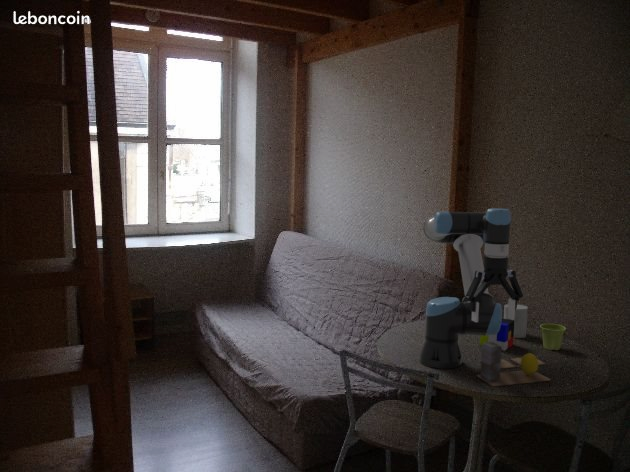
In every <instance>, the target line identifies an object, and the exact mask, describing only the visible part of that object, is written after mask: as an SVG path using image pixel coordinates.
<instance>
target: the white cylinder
mask: <svg viewBox="0 0 630 472" xmlns="http://www.w3.org/2000/svg"><path fill="white" fill-rule="evenodd" d="M503 307H504V308H503V309H504V310H503V319H509V318H507V317H508V303H506V304H504V305H503ZM528 309H529V307H528V306H527V305H525V304H519V303H517V308H516V309H515V316H514V320H515V321H514V338H513V339H516V338H517V339H522V338H526V337H527V324H528V323H527V322H528ZM509 320H512V319H509Z"/></svg>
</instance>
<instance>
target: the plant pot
mask: <svg viewBox="0 0 630 472" xmlns="http://www.w3.org/2000/svg"><path fill="white" fill-rule="evenodd" d="M539 328H540V330H541V333H542V334H541V336H542V344H543V345H542V347H543V348H544V349H545V350H548V351H553V350H554V351H559V350H561V346H562V341H563V338H564V337H563V336H564V334H565V331H566V330H567V328H566V326H563V325H561V324H555V323H542V324H540V325H539Z"/></svg>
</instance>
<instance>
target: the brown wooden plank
mask: <svg viewBox="0 0 630 472" xmlns="http://www.w3.org/2000/svg"><path fill="white" fill-rule="evenodd" d="M509 360H510V361H512V362H514V363H515V364H517V365H519V366H521V360H522V357H513V358H510V359H509ZM537 360H538V366H545V365H547V363H546V362H544V361H542V360H540V359H538V358H537ZM480 363H481V361H480ZM513 368H517V366H516V365H514V364H513V363H511V362H509V361H507V360H506V359H502V358H501V367H500V370H502V369H513Z"/></svg>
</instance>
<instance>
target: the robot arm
mask: <svg viewBox="0 0 630 472" xmlns="http://www.w3.org/2000/svg"><path fill="white" fill-rule="evenodd" d="M511 221H512V218H511V210H510V209H508V208H501V207H500V208H496V207H494V208H488V209H487V210H486V211H482V212H481V211H479V212H478V211H476V212H475V211H473V212H472V211H471V212H470V211H465V212H464V211H437V212H436V213H435V214H434V215H433V216H430V217H428V218H427V219H426V220H425V221H424V223H423V227H422V228H423V233H424V235H425V237H426V238H428V239H429V240H431V241H433V242H435V243H439V244H450V245H451V244H452V247H453V249H454V250H455V251H456V252H457V253H458V260H459V265H460V273H461V277H462V278H461V279H462V280H461V281H462V285H463V286H462V287H463V291H464V293H463V294H464V297H463V298H462V301H460V299H459V298H457V297H455V296H454V297H453V296H452V297H450V296H441V297H436V298H432V299H430V300H429V301H428V302H427V303H426V308H425V332H424V333H425V335H424V342H423V344H422V346H421V349H420V350H421V351H420V353H419V362H420V363H421V364H422V365H424V366H427V367H430V368H436V369H455V368H459V367H461V366H462V364H463V356H462V353H461V349H460V345H459V335H460V336H461V335H463V336H480V335H485V336H487V335H496V334H497V333H498V332H499V330H500V326H501V321H502V318H503V306H502V304H501V303H500V302H495V298H494V296H493V295H492V294H490V292H489V288H488V287H490V286H491V285H492V286H495V285H498V286H499V285H501V286H502V287H503V289H504V291H505V292H506V293H507V294H508V295H509V297H510V298H508V299H507V304H508V317H507V318H509V319H512V320H514V316H515V309H516V308H517V304H518V301H519V300H520V299H522V298H524V295H523V292H522V288H521V287H520V284H519V282H518V279H517V274H516V270H515V269H508V268H509V257H508V256H509V250H510V235H511V234H510V233H511ZM483 245H484V250H483V251H484V252H483V253H484V255H485V256H483V255H482V251H481V248H482V247H483ZM483 257H484V258H483ZM507 277H508V279H509V282H508V280H507ZM509 283H510V284H511V285H510V284H509Z"/></svg>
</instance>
